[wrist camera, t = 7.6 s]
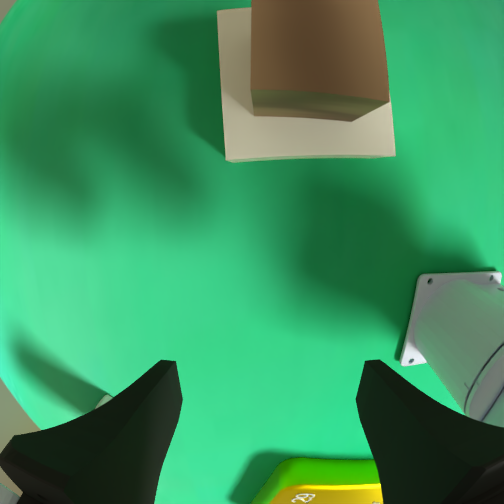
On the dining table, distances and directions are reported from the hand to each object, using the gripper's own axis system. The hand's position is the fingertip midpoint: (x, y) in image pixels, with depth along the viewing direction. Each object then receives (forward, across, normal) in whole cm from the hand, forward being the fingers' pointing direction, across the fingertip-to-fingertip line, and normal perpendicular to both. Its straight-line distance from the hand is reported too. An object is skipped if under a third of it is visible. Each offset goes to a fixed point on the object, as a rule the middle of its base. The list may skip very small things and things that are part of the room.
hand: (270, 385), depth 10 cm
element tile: (+11, -7, +28) cm, 31 cm away
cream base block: (+10, -2, -13) cm, 17 cm away
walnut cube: (+6, -2, -13) cm, 14 cm away
